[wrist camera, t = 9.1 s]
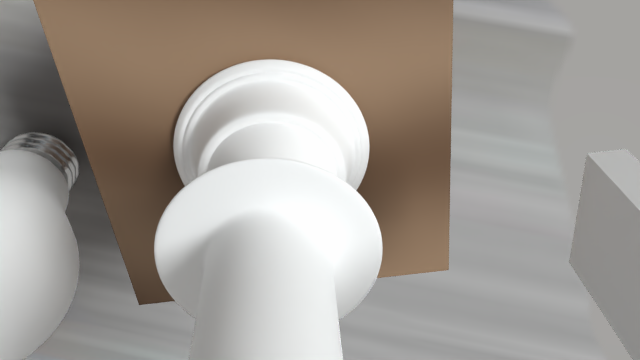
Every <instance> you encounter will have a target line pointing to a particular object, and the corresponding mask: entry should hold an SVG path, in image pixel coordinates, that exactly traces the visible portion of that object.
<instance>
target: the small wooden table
mask: <svg viewBox="0 0 640 360" xmlns="http://www.w3.org/2000/svg"><path fill="white" fill-rule="evenodd" d="M33 1H34V4H35V7H36V10H37V12H38V15H39V18H40V21H41V24H42V27H43V30H44V33H45V35H46V38H47V41H48V44H49V47H50V50H51V53H52V56H53V58H54V61H55V64H56V67H57V70H58V73H59V76H60V79H61V81H62V84H63V87H64V90H65V93H66V96H67V99H68V102H69V104H70V107H71V110H72V113H73V116H74V119H75V122H76V125H77V127H78V130H79V133H80V136H81V139H82V142H83V145H84V148H85V150H86V153H87V156H88V159H89V162H90V165H91V168H92V171H93V173H94V176H95V179H96V182H97V185H98V188H99V191H100V194H101V196H102V199H103V202H104V205H105V208H106V211H107V214H108V217H109V219H110V222H111V225H112V228H113V231H114V234H115V237H116V239H117V242H118V245H119V248H120V251H121V254H122V257H123V260H124V262H125V265H126V268H127V271H128V274H129V277H130V280H131V283H132V285H133V288H134V291H135V294H136V297H137V300H138V303H139V305H143V304H151V303H160V302H169V301H175V300H174V299H173V298H172V297H171V296H170V294H169V293H168V291H167V290H166V288H165V286H164V285H163V283H162V281H161V279H160V276H159V274H158V271H157V267H156V263H155V256H154V241H155V234H156V230H157V226H158V223H159V221H160V218H161V216H162V214H163V212H164V211H165V209H166V207H167V206H168V204H169V203H170V202H171V200H172V199H173V198H174V197H175V196H176V194H177V193H178V192H179V191H180V190H181V189H182V188H184V187H185V185H184V184H183V182H182V180H181V178H180V175H179V173H178V170H177V167H176V163H175V158H174V149H173V141H174V132H175V127H176V123H177V120H178V117H179V115H180V113H181V111H182V109H183V107H184V105H185V103H186V102H187V100H188V99H189V98H190V96H191V95H192V94H193V93H194V91H195V90H196V89H197V88H198V87H199V86H200V85H202V84H203V83H204V82H205V81H206V80H208V79H209V78H210V77H212V76H213V75H215V74H217V73H218V72H220V71H222V70H224V69H227V68H229V67H231V66H234V65H237V64H240V63H244V62H249V61H254V60H264V59H276V60H286V61H292V62H296V63H300V64H303V65H306V66H309V67H312V68H314V69H316V70H318V71H320V72H322V73H324V74H326V75H327V76H329V77H330V78H332V79H333V80H335V81H336V82H337V83H338V84H339V85H341V86H342V87H343V88H344V89H345V90H346V91H347V92H348V93H349V95H350V96H351V97H352V98H353V100H354V101H355V103H356V104H357V106H358V107H359V109H360V111H361V113H362V115H363V118H364V120H365V123H366V126H367V130H368V135H369V159H368V165H367V168H366V172H365V175H364V177H363V179H362V181H361V183H360V185H359V187H358V189H357V190H356V191H357V192H358V193H359V194H360V195H361V196H362V197H363V199H364V200H365V201H366V202H367V204H368V205H369V207H370V208H371V210H372V212H373V213H374V215H375V217H376V220H377V222H378V225H379V228H380V232H381V237H382V247H383V250H382V261H381V266H380V270H379V273H378V276H377V278H382V277H391V276H399V275H408V274H417V273H426V272H435V271H444V270H449V214H450V157H451V99H452V42H453V0H33Z"/></svg>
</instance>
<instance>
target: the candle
mask: <svg viewBox="0 0 640 360" xmlns="http://www.w3.org/2000/svg"><path fill="white" fill-rule="evenodd" d="M173 149H174V158H175V163H176V167H177V170H178V173H179V175H180V178H181V180H182V182H183V184H184V185H185V187H184V188H182V189H181V190H180V191H179V192H178V193H177V194H176V196H175V197H174V198H173V199H172V200H171V202H170V203H169V204H168V206H167V207H166V209H165V211H164V212H163V214H162V216H161V218H160V221H159V223H158V226H157V230H156V234H155V241H154V256H155V263H156V267H157V271H158V274H159V276H160V279H161V281H162V283H163V285H164V286H165V288H166V290H167V291H168V293H169V294H170V296H171V297H172V298H173V299H174V300H175V302H176V303H177V304H178V305H179V306H180V307H181V308H182V309H183V310H185V311H186V312H187V313H188V314H190V315H191V316H192V317H194V318H195V319H196V321H195V326H194V332H193V337H192V343H191V348H190V354H189V360H343V355H342V346H341V337H340V329H339V320H340V319H342V318H343V317H345V316H346V315H347V314H349V313H350V312H351V311H352V310H353V309H355V308H356V307H357V306H358V305H359V304H360V303H361V301H362V300H363V299H364V298H365V297H366V295H367V294H368V293H369V291H370V290H371V288H372V286H373V284H374V282H375V280H376V278H377V276H378V273H379V270H380V266H381V261H382V250H383V247H382V237H381V232H380V228H379V225H378V222H377V220H376V217H375V215H374V213H373V212H372V210H371V208H370V207H369V205H368V204H367V202H366V201H365V200H364V199H363V197H362V196H361V195H360V194H359V193H358V192H357V191H356V190H357V189H358V187H359V185H360V183H361V181H362V179H363V177H364V175H365V172H366V168H367V165H368V159H369V135H368V130H367V126H366V123H365V120H364V118H363V115H362V113H361V111H360V109H359V107H358V106H357V104H356V103H355V101H354V100H353V98H352V97H351V96H350V95H349V93H348V92H347V91H346V90H345V89H344V88H343V87H342V86H341V85H339V84H338V83H337V82H336V81H335V80H333V79H332V78H330V77H329V76H327V75H326V74H324V73H322V72H320V71H318V70H316V69H314V68H312V67H309V66H306V65H303V64H300V63H296V62H292V61H286V60H276V59H264V60H254V61H249V62H244V63H240V64H237V65H234V66H231V67H229V68H227V69H224V70H222V71H220V72H218V73H217V74H215V75H213V76H212V77H210V78H209V79H208V80H206V81H205V82H204V83H203V84H202V85H200V86H199V87H198V88H197V89H196V90H195V91H194V93H193V94H192V95H191V96H190V98H189V99H188V100H187V102H186V103H185V105H184V107H183V109H182V111H181V113H180V115H179V117H178V120H177V123H176V127H175V132H174V141H173Z"/></svg>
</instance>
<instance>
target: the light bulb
mask: <svg viewBox="0 0 640 360" xmlns="http://www.w3.org/2000/svg"><path fill="white" fill-rule="evenodd" d="M78 176H79V161H78V159H77V158H76V156H75V154H74V152H73V150H72V149H71V148H70V147H69V146H68V145H66V144H65V143H64V142H63V141H62V140H61V139H59V138H57V137H55V136H52V135H50V134H47V133H40V132H29V133H25V134H20V135H17V136H15V137H14V138H13V139H11V140H10V141H9V142H8V143H6V145H5V146H4V147H3V148H2V149H1V151H0V360H22V359H24V358H26V357H27V356H29V355H30V354H31V353H32V352H34V351H35V350H36V349H38V348H39V347H40V346H41V345H42V344H43V343H44V342H45V341H46V340H47V339H48V338H49V337H50V336H51V335H52V334H53V332H54V331H55V330H56V329H57V327H58V326H59V325H60V323H61V322H62V320H63V318H64V317H65V315H66V314H67V312H68V310H69V308H70V305H71V303H72V300H73V298H74V295H75V292H76V288H77V285H78V278H79V270H80V263H79V250H78V244H77V240H76V237H75V235H74V232H73V230H72V227H71V225H70V223H69V220H68V218H67V216H66V214H65V211H66V208H67V206H68V201H69V192H70V190H71V189H72V187H73V185H74V184H75V182H76V180H77V178H78Z"/></svg>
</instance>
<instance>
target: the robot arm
mask: <svg viewBox="0 0 640 360" xmlns="http://www.w3.org/2000/svg"><path fill="white" fill-rule="evenodd" d="M569 263H570V264H571V266H572V267H573V269H574V270H575V272H576V273H577V275H578V276H579V278H580V280H581V281H582V283H583V284H584V286H585V287H586V289H587V290H588V292H589V293H590V295H591V296H592V298H593V299H594V301H595V302H596V304H597V306H598V307H599V308H600V310H601V312H602V313H603V315H604V316H605V317H606V319H607V321H608V322H609V324H610V326H611V327H612V329H613V330H614V332H615V333H616V335H617V336H618V338H619V339H620V341H621V342H622V344H623V345H624V347H625V348H626V350H627V352H628V353H629V355H630V356H631V358H632V359H633V360H640V162H639V161H638V160H637V159H636V158H635V157H634V156H633V155H632V154H631V153H630V152H629V151H628V150H627V149H620V150H612V151H603V152H594V153H587V157H586V162H585V168H584V175H583V182H582V187H581V193H580V200H579V205H578V211H577V217H576V224H575V230H574V236H573V242H572V248H571V254H570V260H569Z"/></svg>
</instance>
